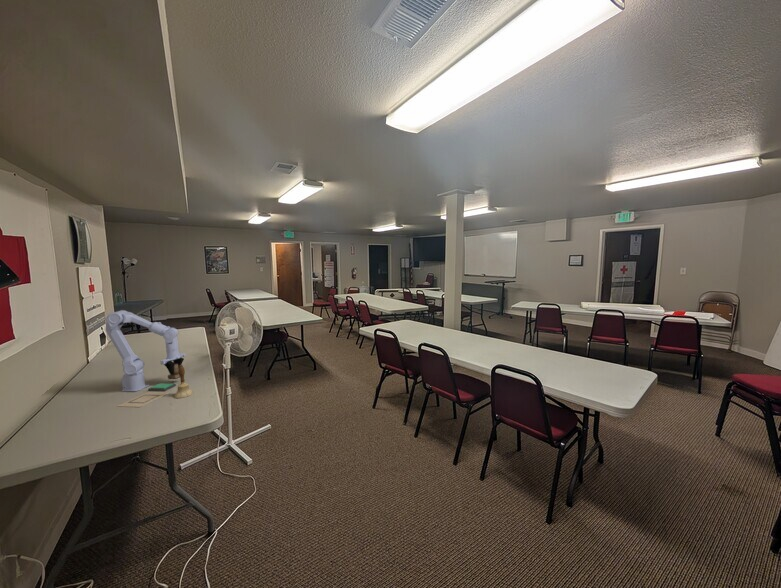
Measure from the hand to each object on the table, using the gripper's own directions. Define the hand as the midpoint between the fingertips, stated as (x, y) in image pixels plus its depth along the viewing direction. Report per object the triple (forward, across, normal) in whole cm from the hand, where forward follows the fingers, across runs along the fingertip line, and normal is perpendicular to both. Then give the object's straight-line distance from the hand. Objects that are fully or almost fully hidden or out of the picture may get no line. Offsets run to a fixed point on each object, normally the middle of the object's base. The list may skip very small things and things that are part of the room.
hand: (175, 372), depth 169 cm
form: (+6, -21, -2) cm, 22 cm away
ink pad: (+6, -8, +1) cm, 10 cm away
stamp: (+3, 0, 0) cm, 3 cm away
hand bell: (+6, -15, -19) cm, 25 cm away
